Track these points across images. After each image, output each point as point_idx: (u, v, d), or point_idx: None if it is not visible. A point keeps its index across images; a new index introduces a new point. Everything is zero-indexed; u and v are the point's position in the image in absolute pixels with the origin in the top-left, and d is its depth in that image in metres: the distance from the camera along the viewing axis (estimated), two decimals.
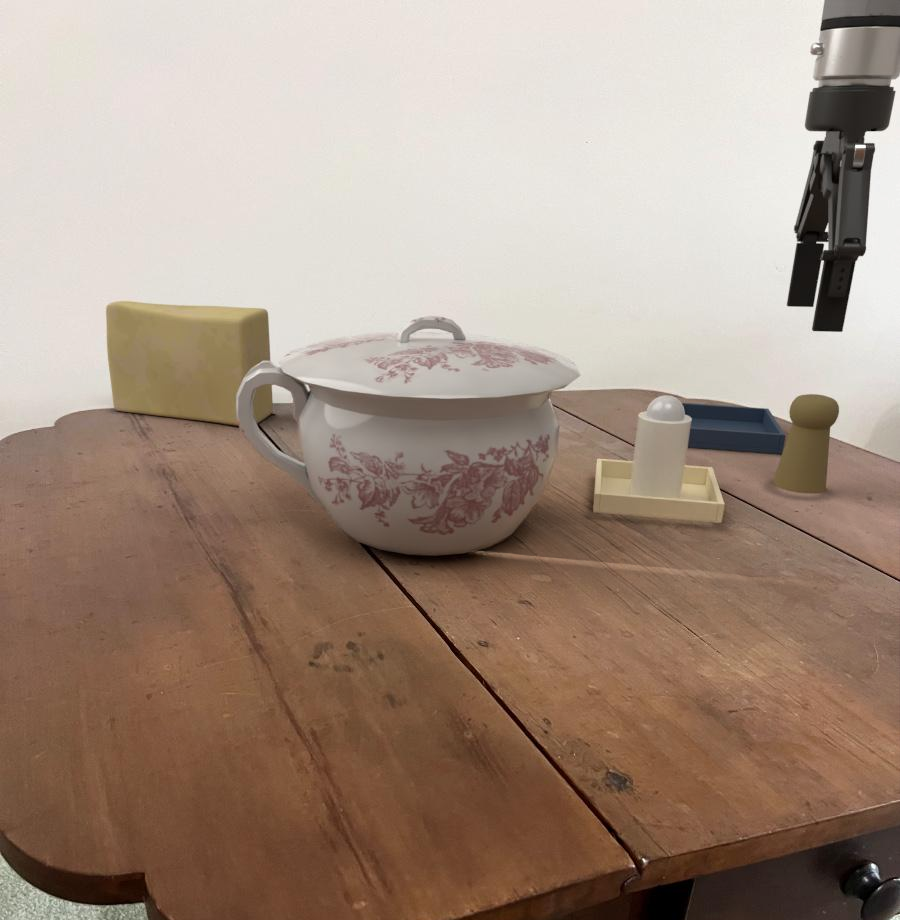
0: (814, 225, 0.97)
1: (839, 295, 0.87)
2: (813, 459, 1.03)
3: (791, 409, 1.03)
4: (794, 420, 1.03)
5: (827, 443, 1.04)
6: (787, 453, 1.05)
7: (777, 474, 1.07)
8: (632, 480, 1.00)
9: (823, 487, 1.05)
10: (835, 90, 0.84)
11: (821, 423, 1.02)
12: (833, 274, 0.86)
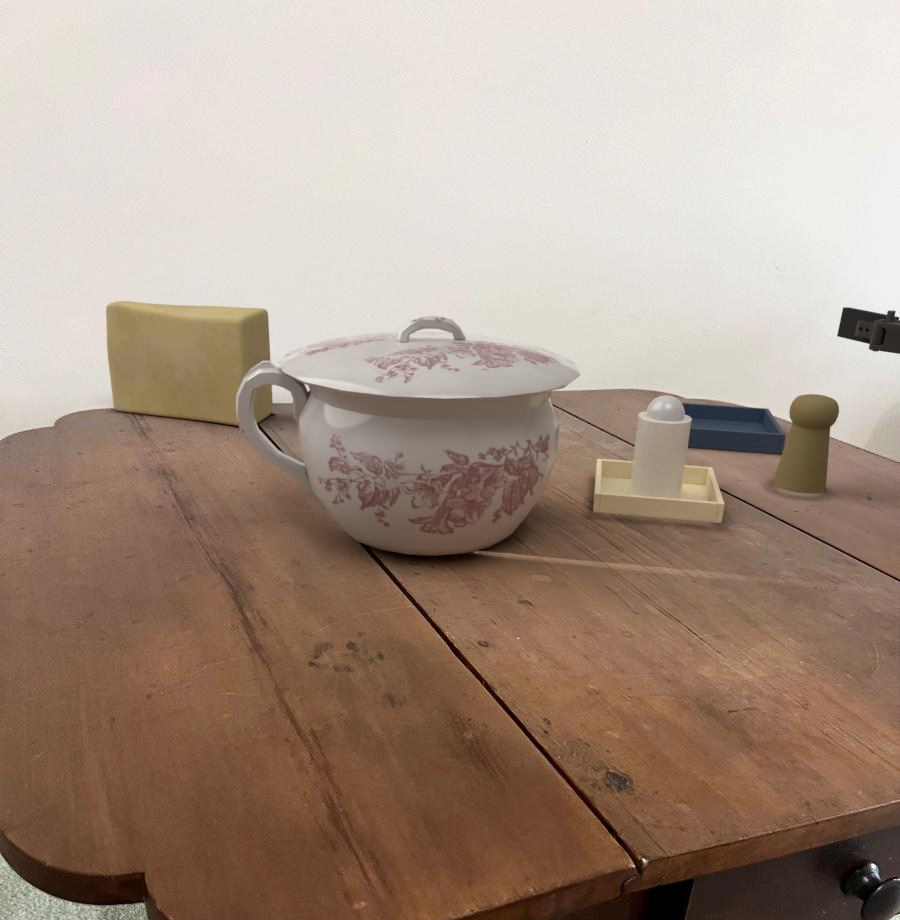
0: None
1: None
2: (813, 459, 1.03)
3: (791, 409, 1.03)
4: (794, 420, 1.03)
5: (827, 443, 1.04)
6: (787, 453, 1.05)
7: (777, 474, 1.07)
8: (632, 480, 1.00)
9: (823, 487, 1.05)
10: None
11: (821, 423, 1.02)
12: None
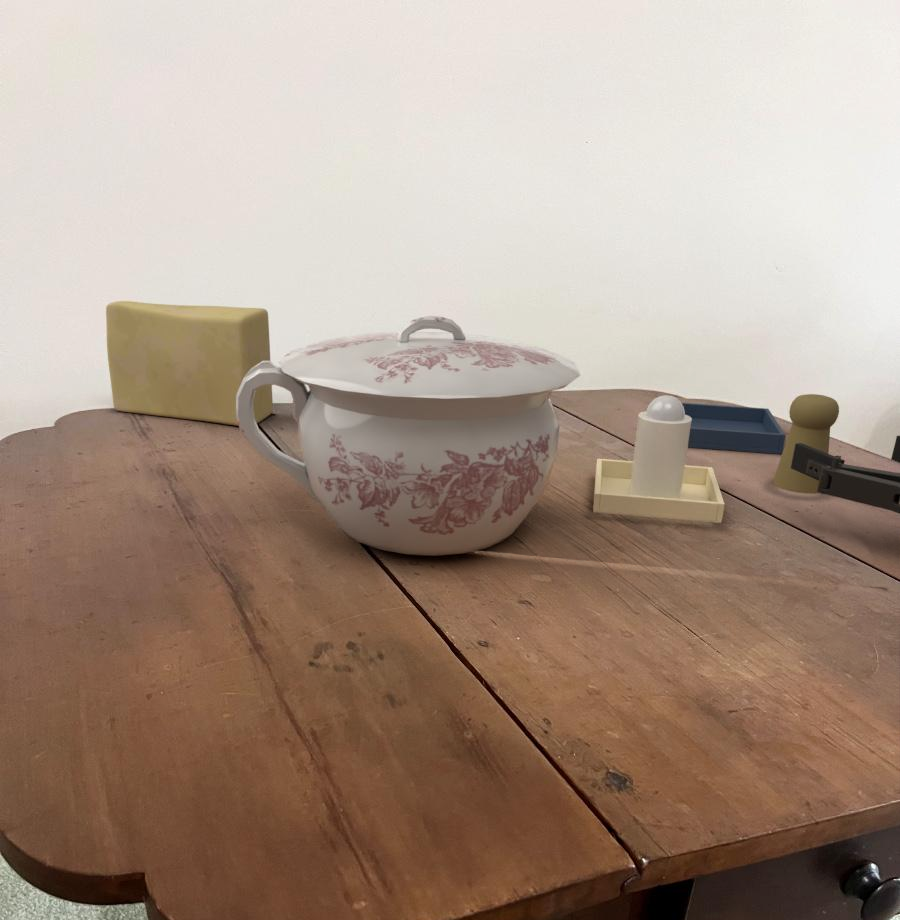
0: None
1: None
2: None
3: (791, 409, 1.03)
4: (794, 420, 1.03)
5: (827, 443, 1.04)
6: (787, 453, 1.05)
7: (777, 474, 1.07)
8: (632, 480, 1.00)
9: None
10: None
11: (821, 423, 1.02)
12: None
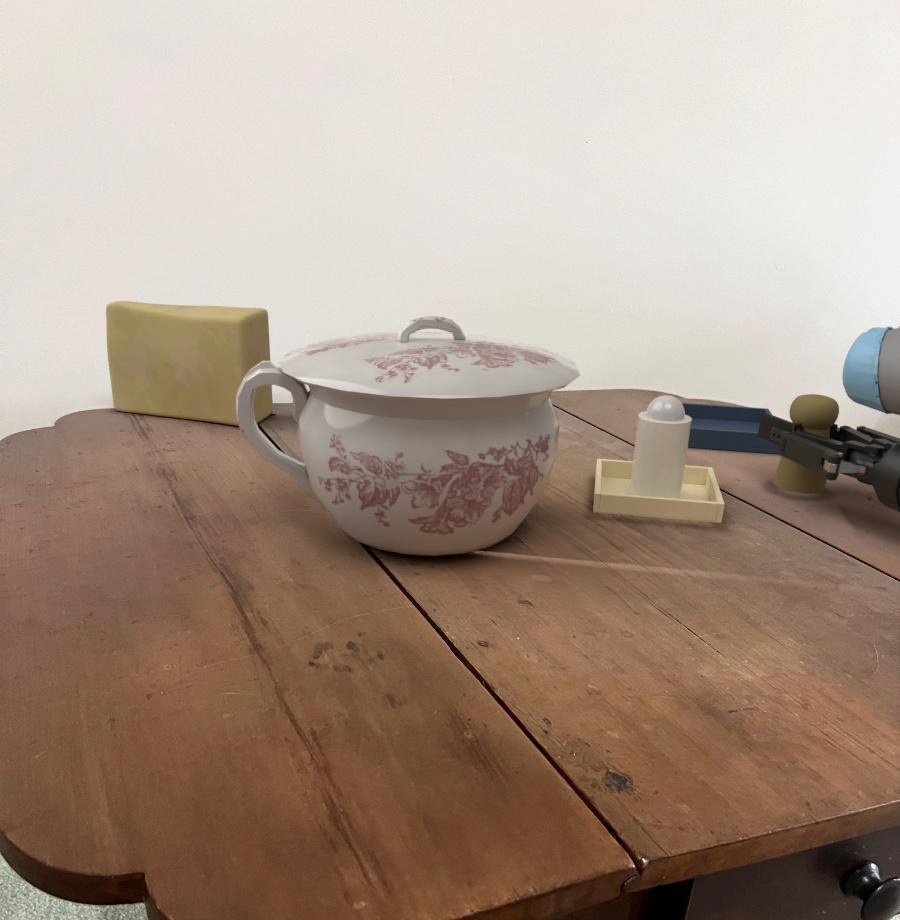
0: None
1: None
2: None
3: (791, 409, 1.03)
4: (794, 420, 1.03)
5: None
6: None
7: (777, 474, 1.07)
8: (632, 480, 1.00)
9: (823, 487, 1.05)
10: None
11: (821, 423, 1.02)
12: None
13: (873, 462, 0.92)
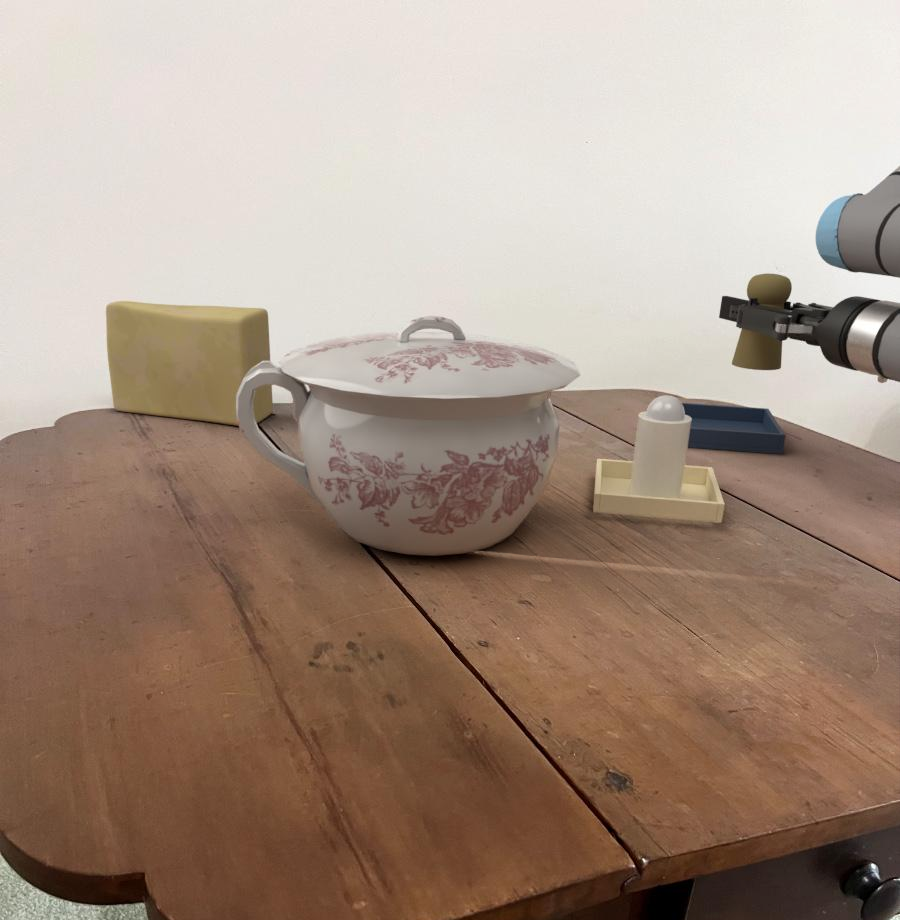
0: None
1: None
2: None
3: (748, 287, 1.13)
4: (751, 297, 1.12)
5: None
6: (745, 329, 1.14)
7: (736, 350, 1.16)
8: (632, 480, 1.00)
9: (778, 361, 1.14)
10: None
11: (775, 298, 1.11)
12: None
13: (819, 321, 1.01)
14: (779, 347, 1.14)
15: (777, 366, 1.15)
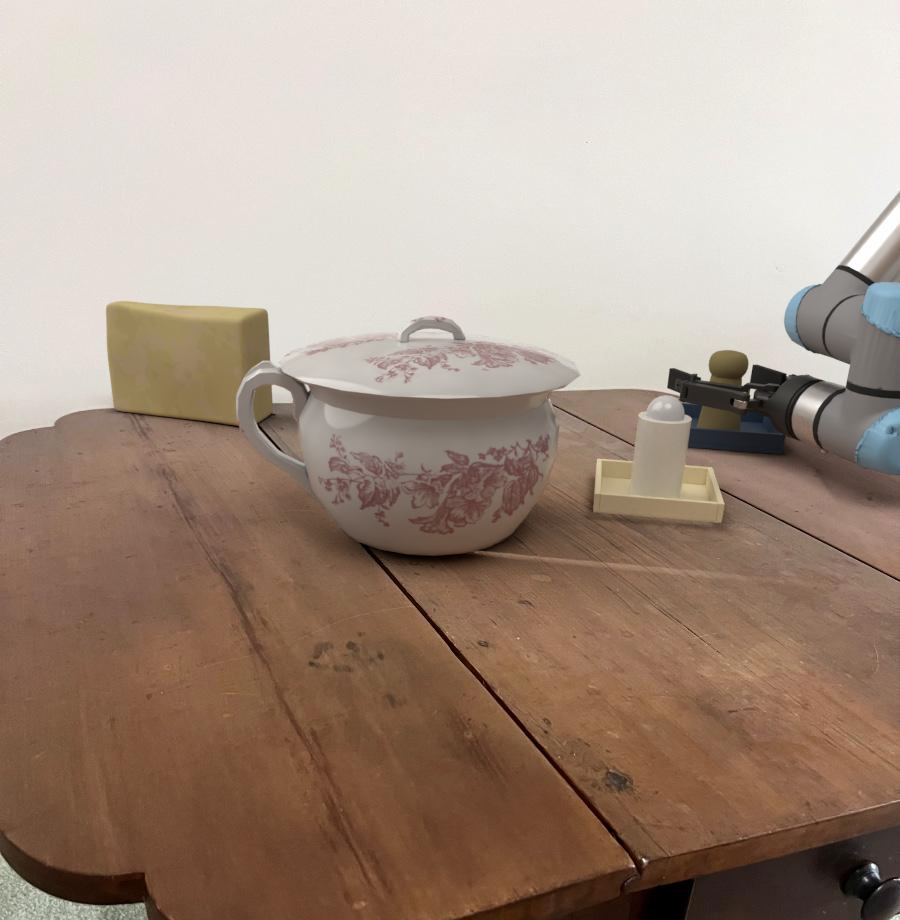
0: None
1: None
2: None
3: (709, 362, 1.25)
4: (712, 371, 1.25)
5: None
6: None
7: (700, 418, 1.28)
8: (632, 480, 1.00)
9: (737, 428, 1.26)
10: None
11: (733, 373, 1.23)
12: None
13: (769, 396, 1.13)
14: (738, 416, 1.26)
15: None
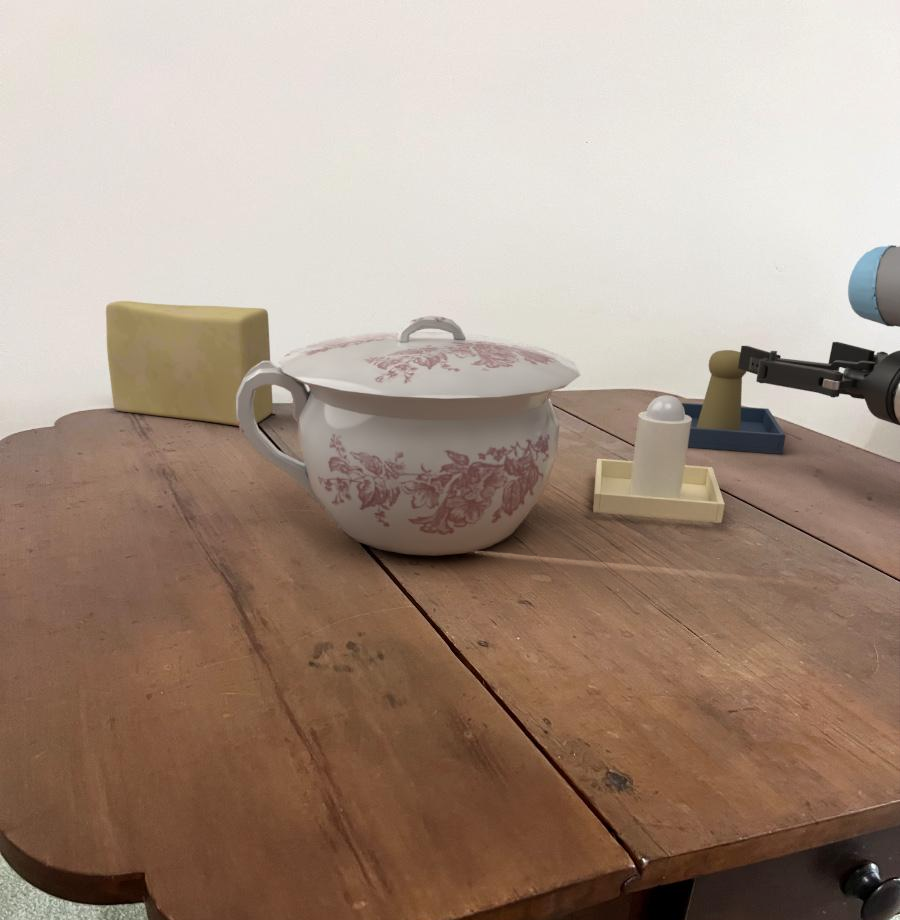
0: None
1: None
2: (727, 404, 1.25)
3: (709, 362, 1.25)
4: (712, 371, 1.25)
5: (739, 390, 1.25)
6: (707, 399, 1.26)
7: (700, 418, 1.28)
8: (632, 480, 1.00)
9: (737, 428, 1.26)
10: None
11: (733, 373, 1.23)
12: None
13: (864, 375, 0.98)
14: (738, 416, 1.26)
15: None
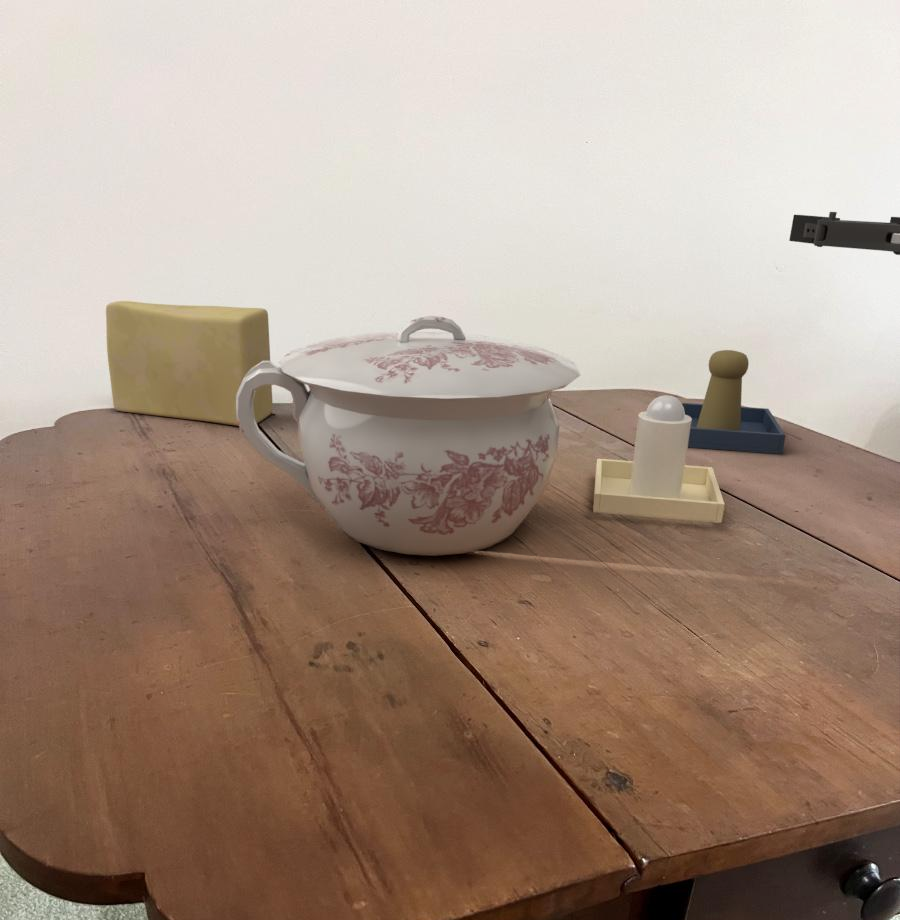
0: None
1: None
2: (727, 404, 1.25)
3: (709, 362, 1.25)
4: (712, 371, 1.25)
5: (739, 390, 1.25)
6: (707, 399, 1.26)
7: (700, 418, 1.28)
8: (632, 480, 1.00)
9: (737, 428, 1.26)
10: None
11: (733, 373, 1.23)
12: None
13: None
14: (738, 416, 1.26)
15: None
